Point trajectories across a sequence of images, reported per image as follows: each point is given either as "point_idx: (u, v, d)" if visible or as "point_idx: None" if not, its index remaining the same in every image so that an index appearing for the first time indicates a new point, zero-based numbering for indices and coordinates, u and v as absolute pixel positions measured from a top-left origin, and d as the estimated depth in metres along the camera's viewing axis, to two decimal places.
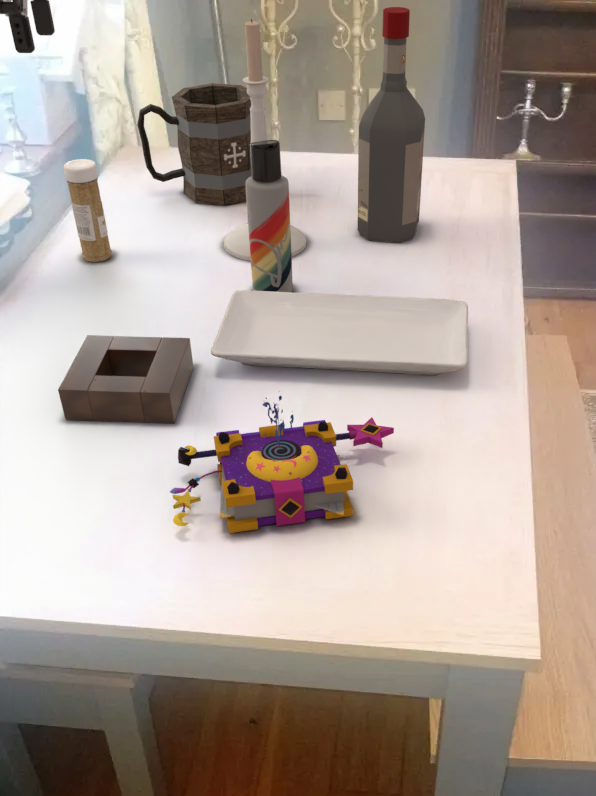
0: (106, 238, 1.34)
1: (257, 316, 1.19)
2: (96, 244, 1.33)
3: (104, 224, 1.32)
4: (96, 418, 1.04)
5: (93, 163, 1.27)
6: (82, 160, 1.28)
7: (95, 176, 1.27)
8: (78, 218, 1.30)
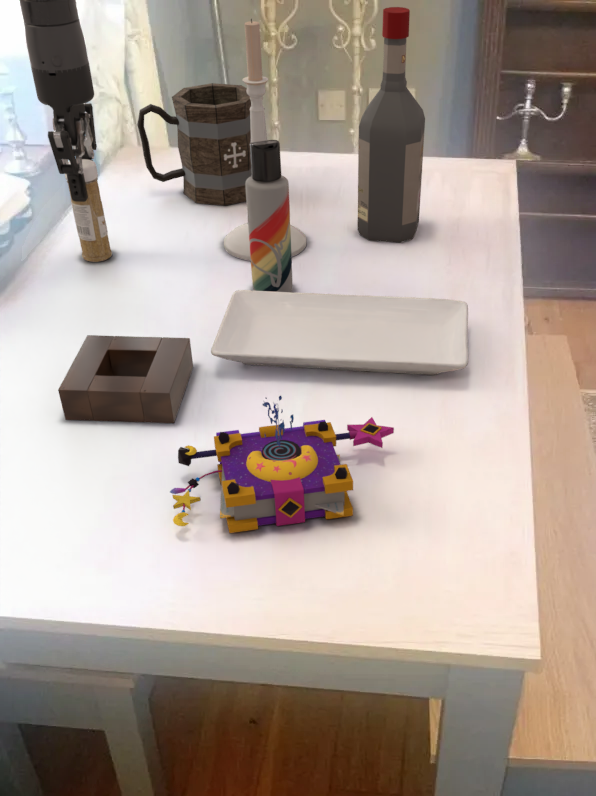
0: (106, 238, 1.34)
1: (257, 316, 1.19)
2: (96, 244, 1.33)
3: (104, 224, 1.32)
4: (96, 418, 1.04)
5: (93, 163, 1.27)
6: (82, 160, 1.28)
7: (95, 176, 1.27)
8: (78, 218, 1.30)
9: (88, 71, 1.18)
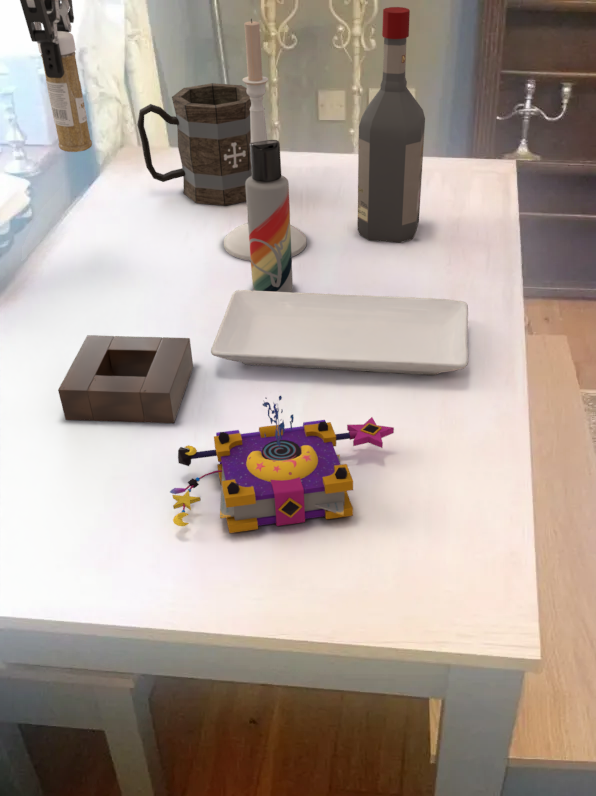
0: (85, 125, 1.20)
1: (257, 316, 1.19)
2: (74, 130, 1.20)
3: (83, 108, 1.19)
4: (96, 418, 1.04)
5: (70, 34, 1.14)
6: (58, 32, 1.15)
7: (72, 49, 1.14)
8: (54, 99, 1.17)
9: None
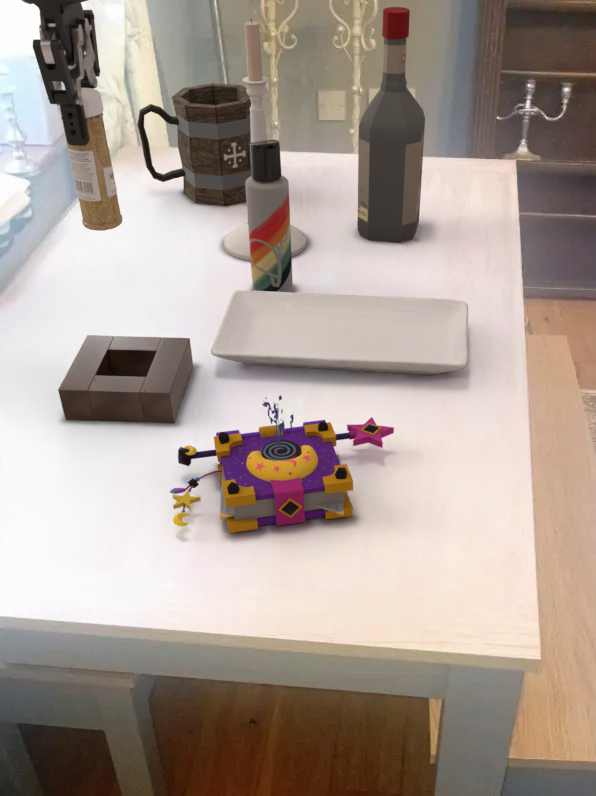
0: (115, 198, 0.99)
1: (257, 316, 1.19)
2: (101, 205, 0.98)
3: (112, 178, 0.98)
4: (96, 418, 1.04)
5: (97, 92, 0.92)
6: (82, 89, 0.93)
7: (100, 110, 0.93)
8: (77, 169, 0.96)
9: None
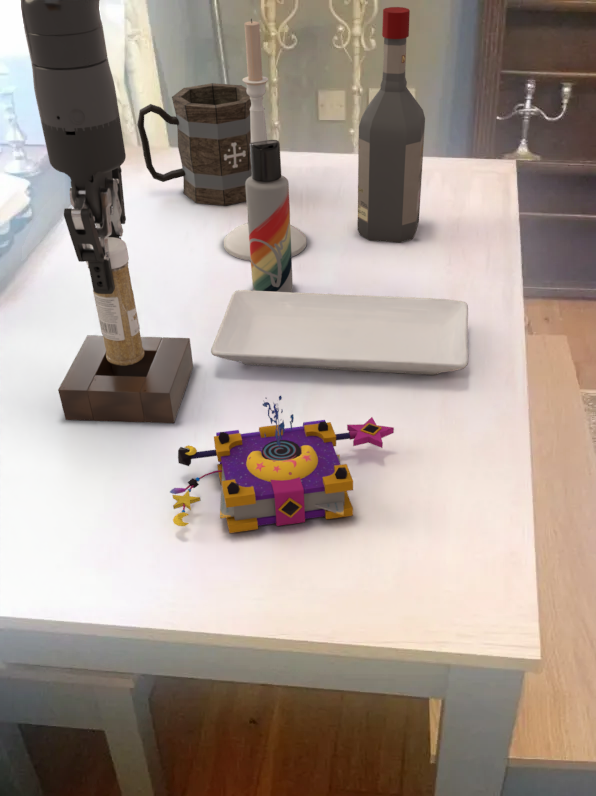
0: (138, 336, 1.03)
1: (257, 316, 1.19)
2: (125, 344, 1.02)
3: (136, 319, 1.01)
4: (96, 418, 1.04)
5: (123, 243, 0.96)
6: (108, 239, 0.97)
7: (125, 260, 0.97)
8: (103, 312, 0.99)
9: (118, 127, 0.87)
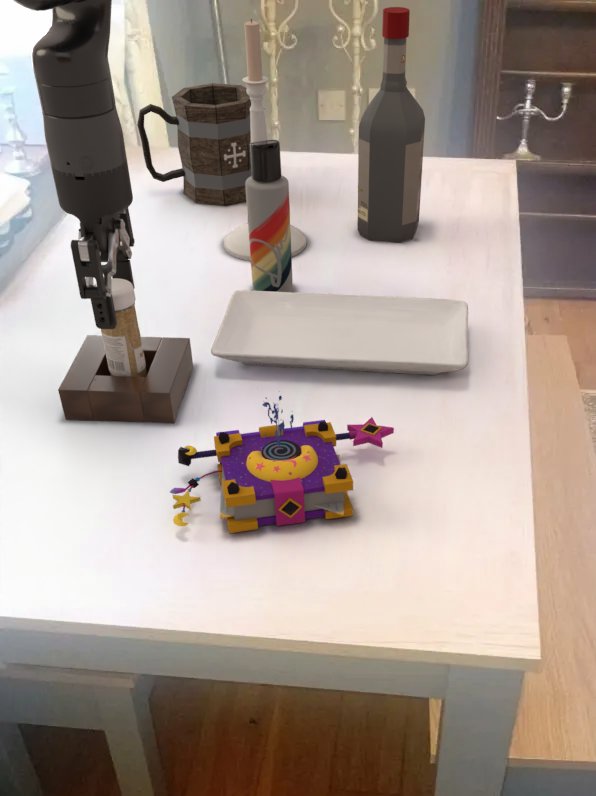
0: (144, 372, 1.06)
1: (257, 316, 1.19)
2: None
3: (142, 356, 1.05)
4: (96, 418, 1.04)
5: (130, 285, 0.99)
6: (116, 280, 1.00)
7: (132, 301, 1.00)
8: (110, 351, 1.03)
9: (126, 171, 0.90)
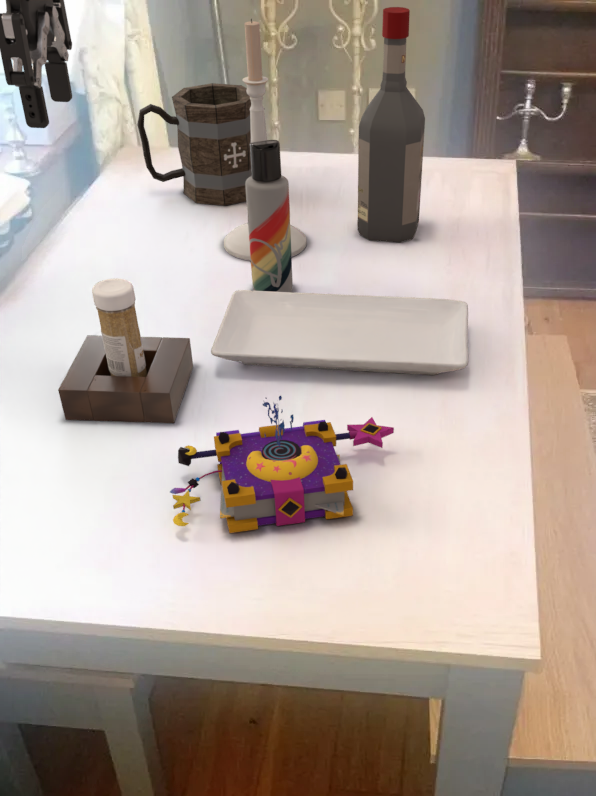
0: (144, 372, 1.06)
1: (257, 316, 1.19)
2: None
3: (142, 356, 1.05)
4: (96, 418, 1.04)
5: (130, 285, 0.99)
6: (116, 280, 1.00)
7: (132, 301, 1.00)
8: (110, 351, 1.03)
9: None
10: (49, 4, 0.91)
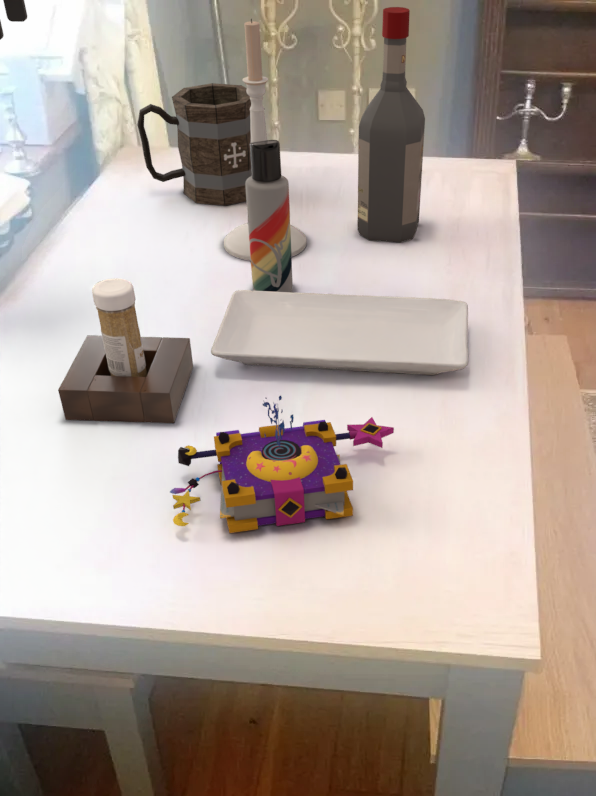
0: (144, 372, 1.06)
1: (257, 316, 1.19)
2: None
3: (142, 356, 1.05)
4: (96, 418, 1.04)
5: (130, 285, 0.99)
6: (116, 280, 1.00)
7: (132, 301, 1.00)
8: (110, 351, 1.03)
9: None
10: None
